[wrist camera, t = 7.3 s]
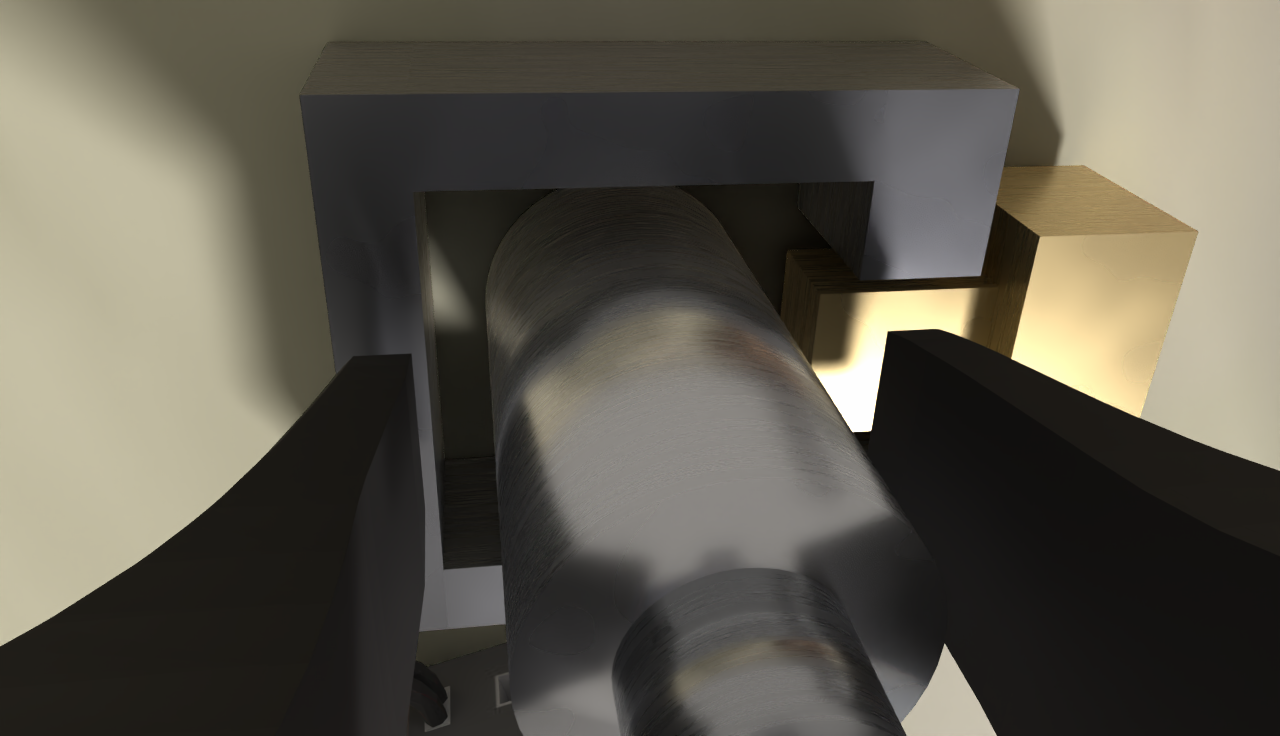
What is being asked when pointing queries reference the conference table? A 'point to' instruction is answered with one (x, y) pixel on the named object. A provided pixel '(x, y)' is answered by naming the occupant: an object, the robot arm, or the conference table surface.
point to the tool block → (624, 157)
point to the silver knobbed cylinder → (685, 494)
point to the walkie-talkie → (463, 697)
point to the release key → (1012, 294)
